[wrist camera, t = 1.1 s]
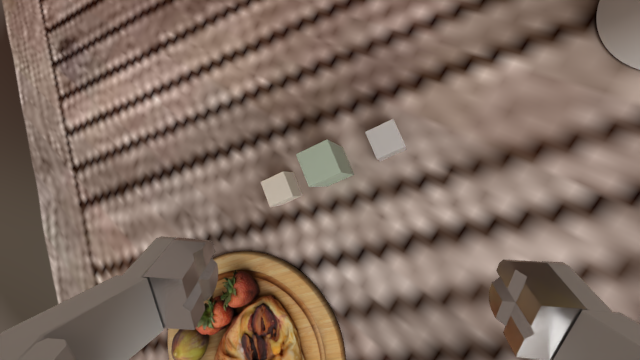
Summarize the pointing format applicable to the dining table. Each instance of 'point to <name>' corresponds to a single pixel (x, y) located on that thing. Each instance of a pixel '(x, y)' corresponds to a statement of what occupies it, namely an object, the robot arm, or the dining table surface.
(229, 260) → the wooden plate with food
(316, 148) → the sage-green pillar
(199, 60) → the dining table surface
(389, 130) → the grey block
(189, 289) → the robot arm
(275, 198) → the cream block
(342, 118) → the dining table surface
